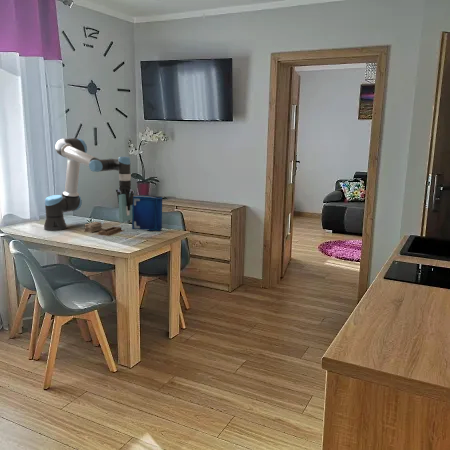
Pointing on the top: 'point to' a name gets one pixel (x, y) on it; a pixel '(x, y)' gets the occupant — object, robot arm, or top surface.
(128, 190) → the robot arm
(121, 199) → the teal slotted panel
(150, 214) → the book
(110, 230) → the slot rack
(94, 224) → the offcut stack
